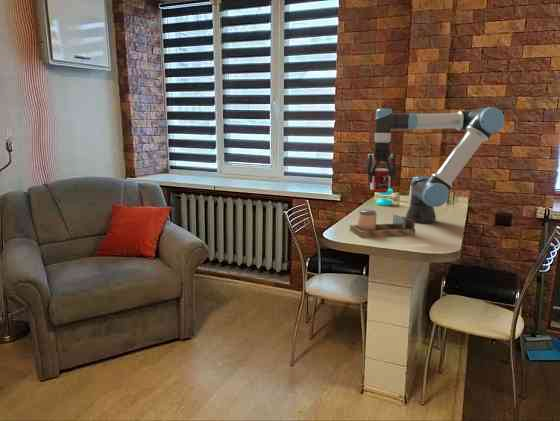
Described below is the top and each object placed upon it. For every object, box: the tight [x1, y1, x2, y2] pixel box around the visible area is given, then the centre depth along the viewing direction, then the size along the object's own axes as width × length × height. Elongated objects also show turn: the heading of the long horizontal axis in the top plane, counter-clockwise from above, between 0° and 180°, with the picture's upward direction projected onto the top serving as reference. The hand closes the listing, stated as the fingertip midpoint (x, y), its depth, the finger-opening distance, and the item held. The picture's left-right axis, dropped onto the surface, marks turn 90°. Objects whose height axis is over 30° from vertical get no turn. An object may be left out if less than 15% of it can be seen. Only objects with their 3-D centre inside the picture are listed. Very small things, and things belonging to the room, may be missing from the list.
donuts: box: [376, 188, 394, 206], centre depth 274 cm, size 10×10×10 cm
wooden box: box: [349, 216, 416, 238], centre depth 196 cm, size 26×12×7 cm, turn 102°
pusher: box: [392, 214, 407, 230], centre depth 198 cm, size 4×10×7 cm, turn 12°
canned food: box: [371, 167, 389, 194], centre depth 211 cm, size 8×8×11 cm
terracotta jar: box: [357, 208, 377, 231], centre depth 194 cm, size 8×8×10 cm
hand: (379, 189), depth 212 cm, fingers closed on canned food, 8 cm apart
